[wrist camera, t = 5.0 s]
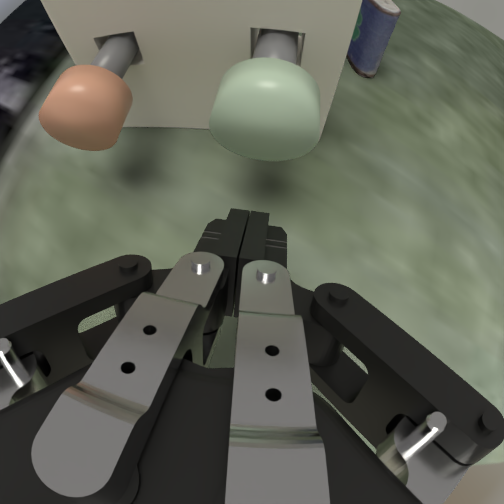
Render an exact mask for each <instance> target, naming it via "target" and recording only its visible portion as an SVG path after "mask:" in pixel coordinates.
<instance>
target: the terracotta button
mask: <svg viewBox="0 0 504 504" xmlns="http://www.w3.org/2000/svg"><path fill="white" fill-rule="evenodd" d="M138 51H139V46H138V43H137V40H136V37H135V34H134V32H133V31H132V32H125V33H119V34H112V35H110V36H109V38H108V39H107V40H106V42H105V43H104V45H103V46H102V48H101V49H100V50H99V52H98V53H97V55H96V56H95V58H94V59H93V61H92V63H91V64H90V65H76V66H73V67H70V68H68V69H67V70H65V71H64V72H63V73H62V74H61V75H60V77H59V78H58V80H57V82H56V83H55V85H54V87H53V88H52V90H51V92H50V93H49V95H48V97H47V98H46V100H45V102H44V104H43V105H42V107H41V109H40V111H39V120H40V123H41V125H42V127H43V128H44V129H45V131H46V132H47V133H48V134H50V135H51V136H52V137H53V138H55V139H56V140H58V141H60V142H62V143H64V144H66V145H68V146H71V147H74V148H78V149H82V150H89V151H100V150H105V149H108V148H110V147H112V146H113V145H114V144H115V143H116V142H117V139H118V136H119V134H120V131H121V129H122V127H123V124H124V122H125V119H126V117H127V115H128V112H129V110H130V108H131V106H132V102H133V97H132V93H131V90H130V89H129V87H128V85H127V84H126V83H125V82H124V81H123V80H122V79H123V77H124V75H125V73H126V71H127V70H128V68H129V66H130V64H131V62H132V61H133V59H134V57H135V56H136V54H137V52H138Z"/></svg>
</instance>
